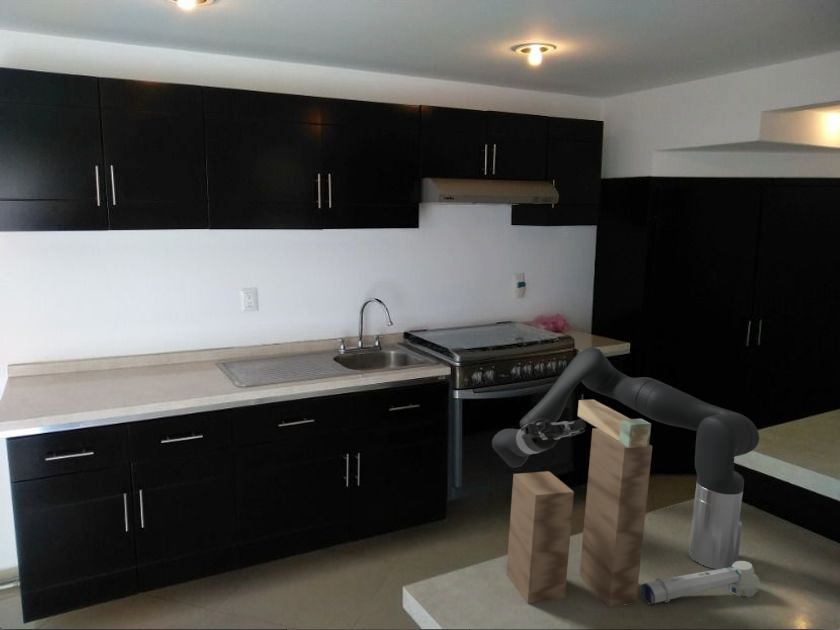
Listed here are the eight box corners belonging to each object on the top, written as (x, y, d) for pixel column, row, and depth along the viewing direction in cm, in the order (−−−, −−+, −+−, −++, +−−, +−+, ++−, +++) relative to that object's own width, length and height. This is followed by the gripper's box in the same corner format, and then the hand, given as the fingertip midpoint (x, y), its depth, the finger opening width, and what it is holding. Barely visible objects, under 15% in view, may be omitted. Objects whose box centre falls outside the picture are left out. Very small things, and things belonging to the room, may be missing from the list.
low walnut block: (541, 570, 132) (549, 471, 129) (564, 598, 122) (573, 491, 119) (506, 574, 130) (513, 474, 126) (527, 603, 120) (535, 495, 117)
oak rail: (593, 415, 135) (595, 395, 134) (648, 446, 117) (651, 423, 116) (575, 416, 134) (577, 396, 133) (628, 447, 115) (630, 424, 115)
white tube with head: (638, 576, 124) (746, 550, 130) (639, 606, 126) (746, 579, 131) (654, 591, 119) (765, 564, 125) (655, 623, 121) (765, 594, 126)
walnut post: (604, 572, 132) (618, 427, 127) (636, 603, 122) (652, 446, 117) (579, 575, 130) (592, 428, 126) (609, 607, 120) (624, 447, 115)
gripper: (507, 423, 155) (535, 408, 141) (559, 420, 159) (591, 406, 145) (512, 453, 153) (541, 442, 138) (564, 450, 157) (597, 438, 142)
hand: (566, 423), depth 141 cm, fingers open, 8 cm apart
